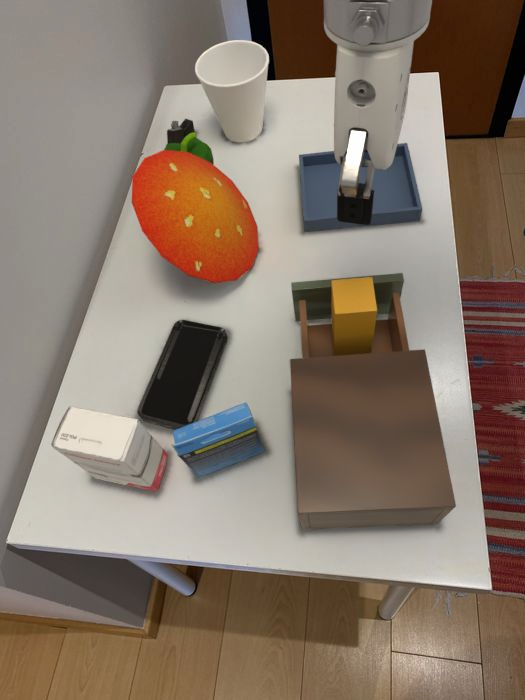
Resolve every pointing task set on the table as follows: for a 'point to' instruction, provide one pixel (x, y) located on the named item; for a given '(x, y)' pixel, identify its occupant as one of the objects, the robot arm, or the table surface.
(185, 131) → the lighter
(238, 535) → the table surface
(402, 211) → the tray
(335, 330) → the block
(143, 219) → the toy strawberry
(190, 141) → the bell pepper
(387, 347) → the drawer
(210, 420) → the label tape box
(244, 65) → the cup
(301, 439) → the cabinet
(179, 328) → the phone
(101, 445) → the ink box
